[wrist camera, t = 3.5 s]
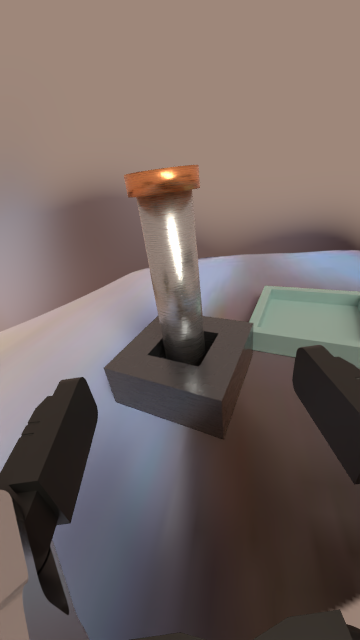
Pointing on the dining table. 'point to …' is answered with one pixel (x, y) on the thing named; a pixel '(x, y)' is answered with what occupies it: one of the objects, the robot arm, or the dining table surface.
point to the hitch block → (185, 376)
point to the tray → (307, 321)
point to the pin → (172, 256)
